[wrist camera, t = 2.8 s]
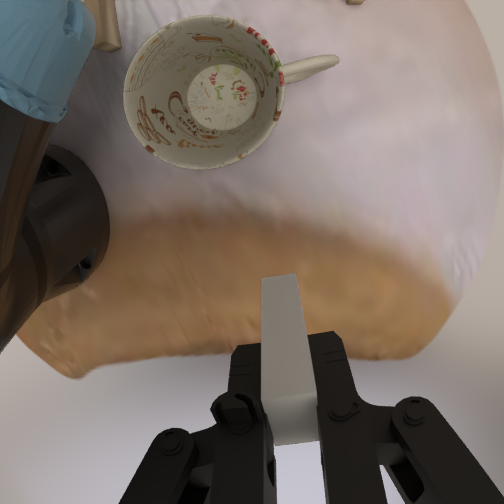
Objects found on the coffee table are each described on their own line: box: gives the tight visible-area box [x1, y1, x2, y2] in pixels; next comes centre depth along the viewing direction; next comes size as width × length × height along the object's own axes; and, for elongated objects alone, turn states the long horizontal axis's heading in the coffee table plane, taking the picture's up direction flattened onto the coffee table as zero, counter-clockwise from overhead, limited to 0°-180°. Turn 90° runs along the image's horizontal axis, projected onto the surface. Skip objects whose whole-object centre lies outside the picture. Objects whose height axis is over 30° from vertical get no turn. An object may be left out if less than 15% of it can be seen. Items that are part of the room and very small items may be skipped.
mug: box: [123, 15, 340, 170], centre depth 18 cm, size 8×13×10 cm, turn 111°
